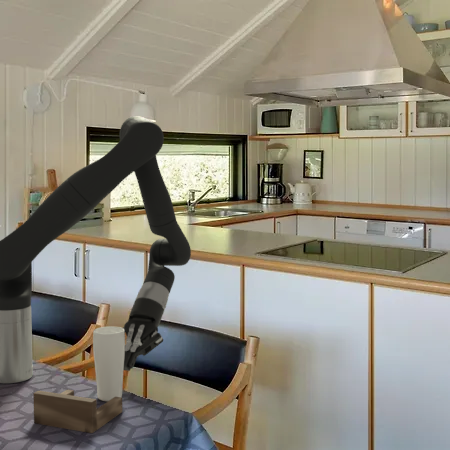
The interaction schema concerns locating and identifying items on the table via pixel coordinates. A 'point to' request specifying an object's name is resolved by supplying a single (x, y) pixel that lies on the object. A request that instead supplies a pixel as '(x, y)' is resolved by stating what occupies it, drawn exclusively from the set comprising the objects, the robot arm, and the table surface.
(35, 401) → the walnut dock
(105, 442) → the table surface
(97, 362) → the white cup
